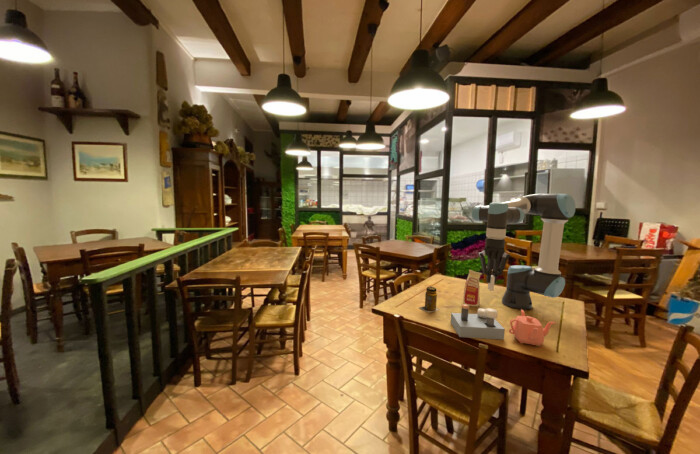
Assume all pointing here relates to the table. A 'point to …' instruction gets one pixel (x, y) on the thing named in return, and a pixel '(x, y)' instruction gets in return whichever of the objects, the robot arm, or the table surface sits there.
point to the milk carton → (472, 289)
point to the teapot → (529, 329)
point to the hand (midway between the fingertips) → (490, 289)
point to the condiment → (430, 300)
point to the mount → (476, 327)
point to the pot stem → (464, 312)
